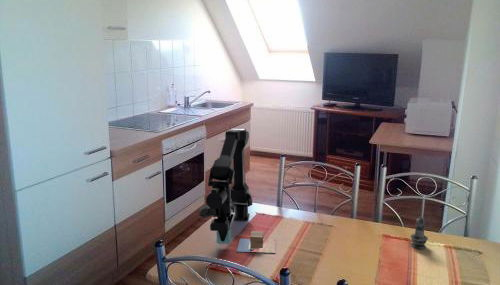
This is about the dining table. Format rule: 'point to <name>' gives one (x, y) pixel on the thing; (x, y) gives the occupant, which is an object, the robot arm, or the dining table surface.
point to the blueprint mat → (244, 246)
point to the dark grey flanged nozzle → (419, 235)
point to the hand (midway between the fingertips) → (223, 238)
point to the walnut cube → (256, 239)
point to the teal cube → (227, 239)
